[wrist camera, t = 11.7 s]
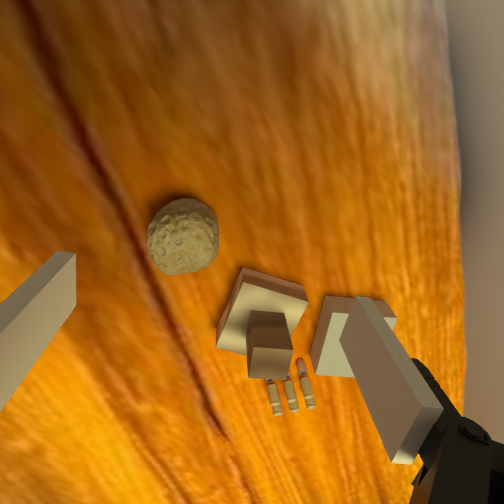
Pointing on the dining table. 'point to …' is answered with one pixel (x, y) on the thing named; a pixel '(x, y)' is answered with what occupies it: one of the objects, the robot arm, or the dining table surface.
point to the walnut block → (268, 345)
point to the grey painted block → (337, 335)
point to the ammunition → (291, 392)
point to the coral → (183, 237)
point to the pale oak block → (257, 306)
